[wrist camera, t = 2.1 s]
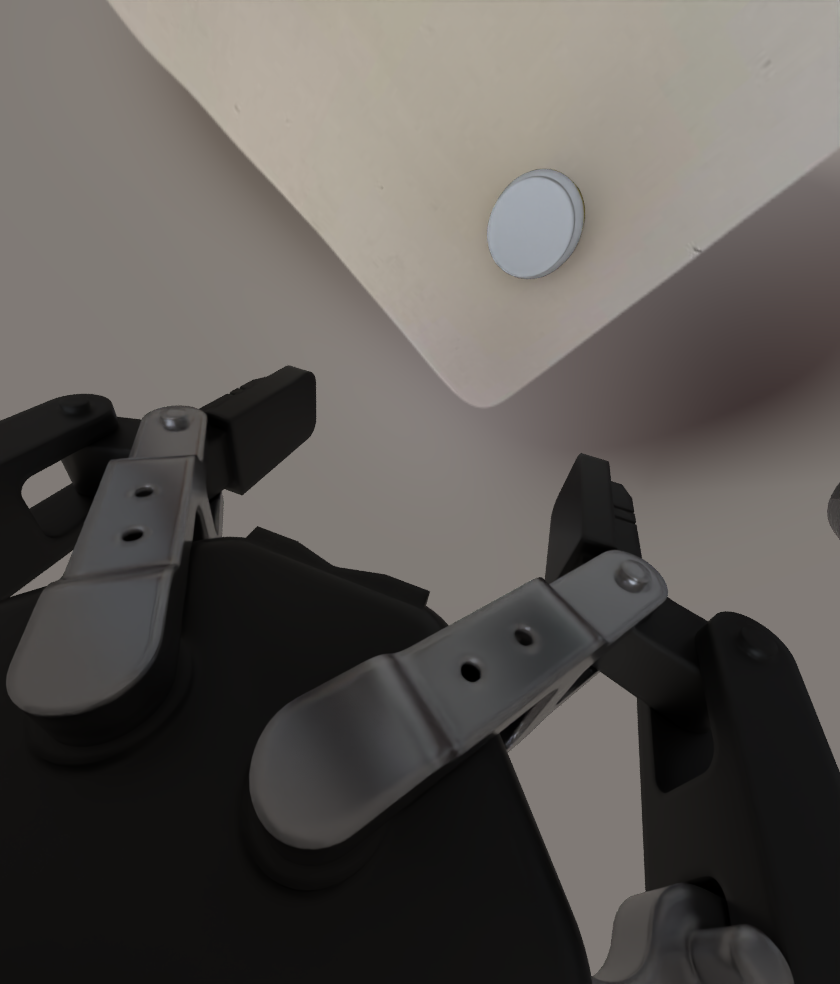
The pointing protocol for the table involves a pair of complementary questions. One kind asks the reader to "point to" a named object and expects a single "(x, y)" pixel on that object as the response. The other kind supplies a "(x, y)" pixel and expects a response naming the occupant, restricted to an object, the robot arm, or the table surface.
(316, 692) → the robot arm
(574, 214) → the supplement bottle
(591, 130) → the table surface
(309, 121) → the table surface
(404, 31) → the table surface
